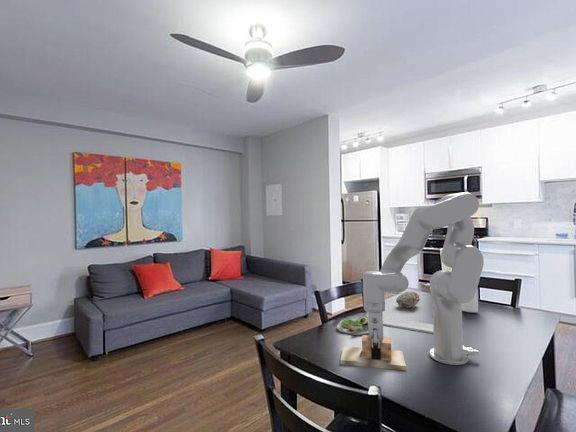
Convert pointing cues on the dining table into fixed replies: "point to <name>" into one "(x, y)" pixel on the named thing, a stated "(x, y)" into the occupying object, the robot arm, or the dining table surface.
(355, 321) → the salad plate
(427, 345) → the dining table surface
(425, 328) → the baseboard
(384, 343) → the block
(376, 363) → the plywood board
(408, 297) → the pumice stone
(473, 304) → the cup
